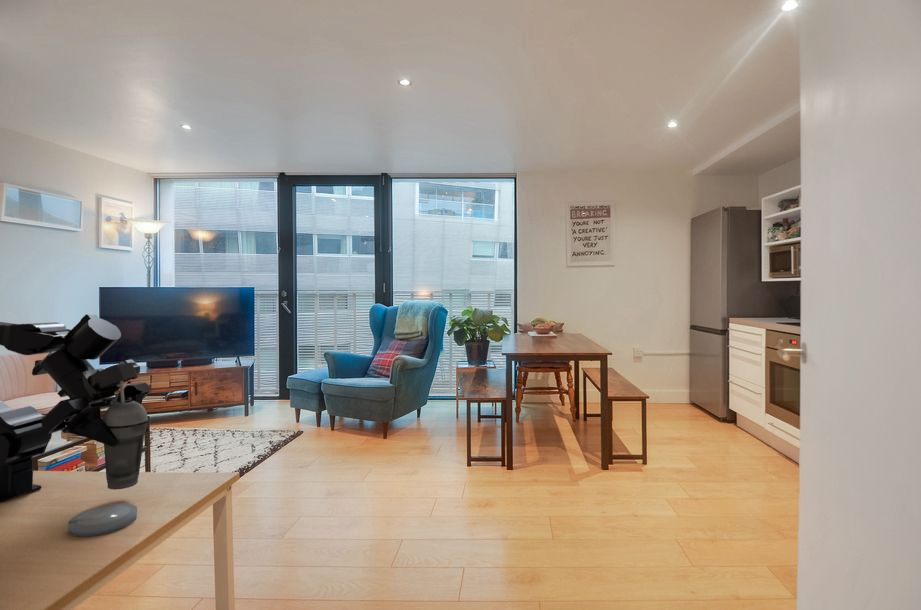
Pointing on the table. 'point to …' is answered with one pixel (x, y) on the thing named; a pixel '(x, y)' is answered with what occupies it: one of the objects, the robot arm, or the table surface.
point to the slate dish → (102, 519)
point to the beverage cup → (124, 442)
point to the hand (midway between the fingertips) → (131, 438)
